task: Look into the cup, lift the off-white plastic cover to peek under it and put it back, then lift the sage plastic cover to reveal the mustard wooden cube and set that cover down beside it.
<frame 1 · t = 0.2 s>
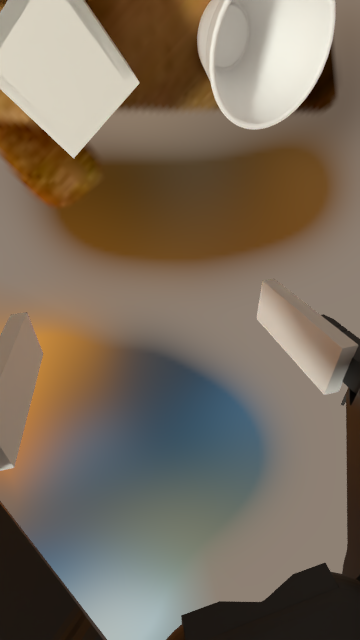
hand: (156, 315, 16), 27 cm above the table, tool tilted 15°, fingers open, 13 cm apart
cup: (224, 37, 28), on the table
white cover: (65, 52, 26), on the table
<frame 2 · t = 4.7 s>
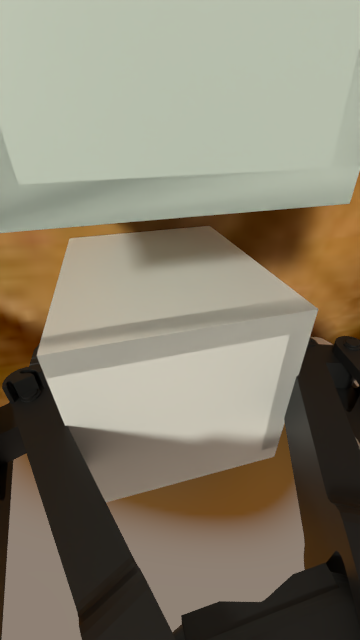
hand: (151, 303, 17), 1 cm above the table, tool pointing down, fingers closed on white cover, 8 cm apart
sage cover: (127, 67, 12), on the table
white cover: (148, 293, 18), on the table, touching gripper
when the fingers open (2 cm above the table, at t = 10.0 s): white cover stays where it is, on the table.
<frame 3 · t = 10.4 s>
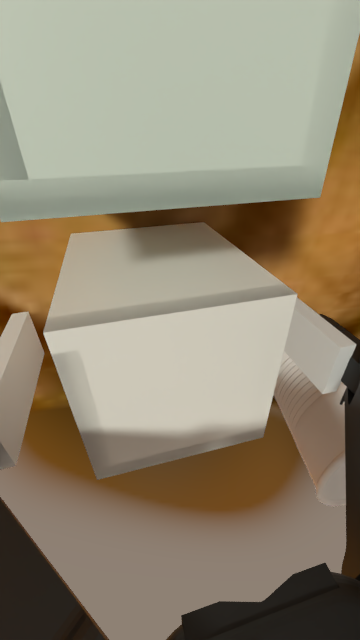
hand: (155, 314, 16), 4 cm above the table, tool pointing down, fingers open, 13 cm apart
sage cover: (124, 73, 13), on the table
cup: (288, 353, 26), on the table
white cover: (146, 287, 19), on the table
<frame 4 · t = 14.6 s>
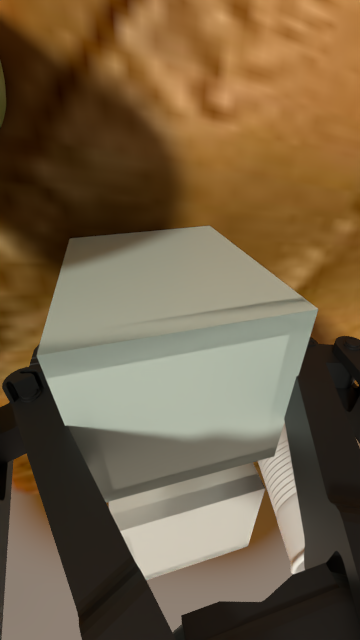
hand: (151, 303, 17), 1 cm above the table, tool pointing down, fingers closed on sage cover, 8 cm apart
sage cover: (148, 293, 18), on the table, touching gripper
cup: (275, 432, 32), on the table
white cover: (159, 405, 24), on the table
when the fingers open (2 cm above the table, at t = 21.2 s): sage cover stays where it is, on the table.
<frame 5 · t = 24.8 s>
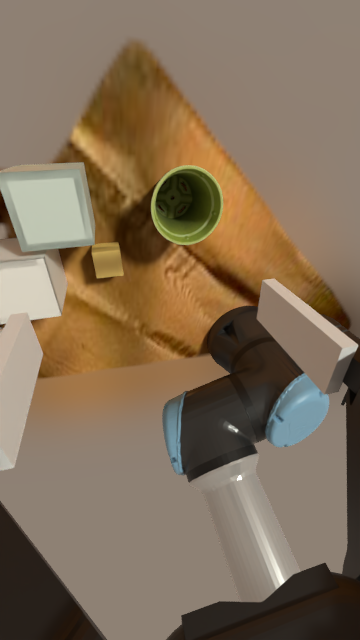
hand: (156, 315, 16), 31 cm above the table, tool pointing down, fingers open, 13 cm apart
plant pot: (172, 196, 42), on the table
sage cover: (59, 196, 38), on the table
mustard cube: (107, 255, 44), on the table
white cover: (33, 263, 42), on the table
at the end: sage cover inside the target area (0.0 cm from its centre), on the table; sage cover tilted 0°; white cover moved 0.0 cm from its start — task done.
